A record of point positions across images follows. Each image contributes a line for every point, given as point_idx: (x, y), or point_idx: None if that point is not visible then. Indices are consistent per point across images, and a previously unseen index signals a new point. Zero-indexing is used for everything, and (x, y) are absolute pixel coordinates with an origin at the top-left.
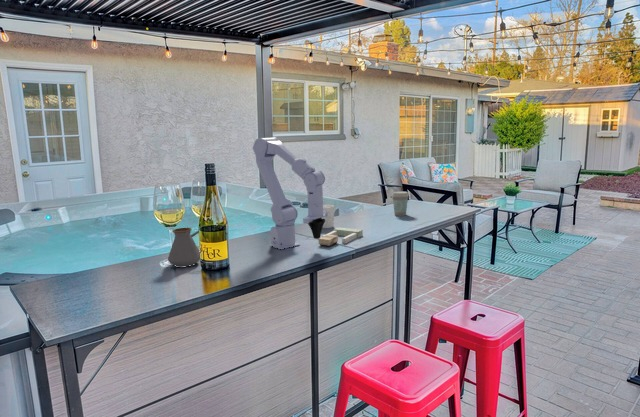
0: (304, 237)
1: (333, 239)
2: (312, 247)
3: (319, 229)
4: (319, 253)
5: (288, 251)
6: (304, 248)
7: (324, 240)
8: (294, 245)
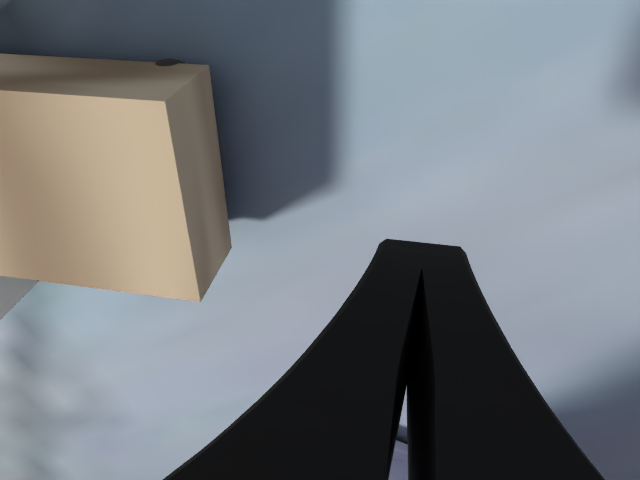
0: (78, 447)
1: (29, 80)
2: (335, 274)
3: (474, 404)
4: (619, 38)
5: (597, 436)
6: None
7: (190, 190)
8: (399, 449)
